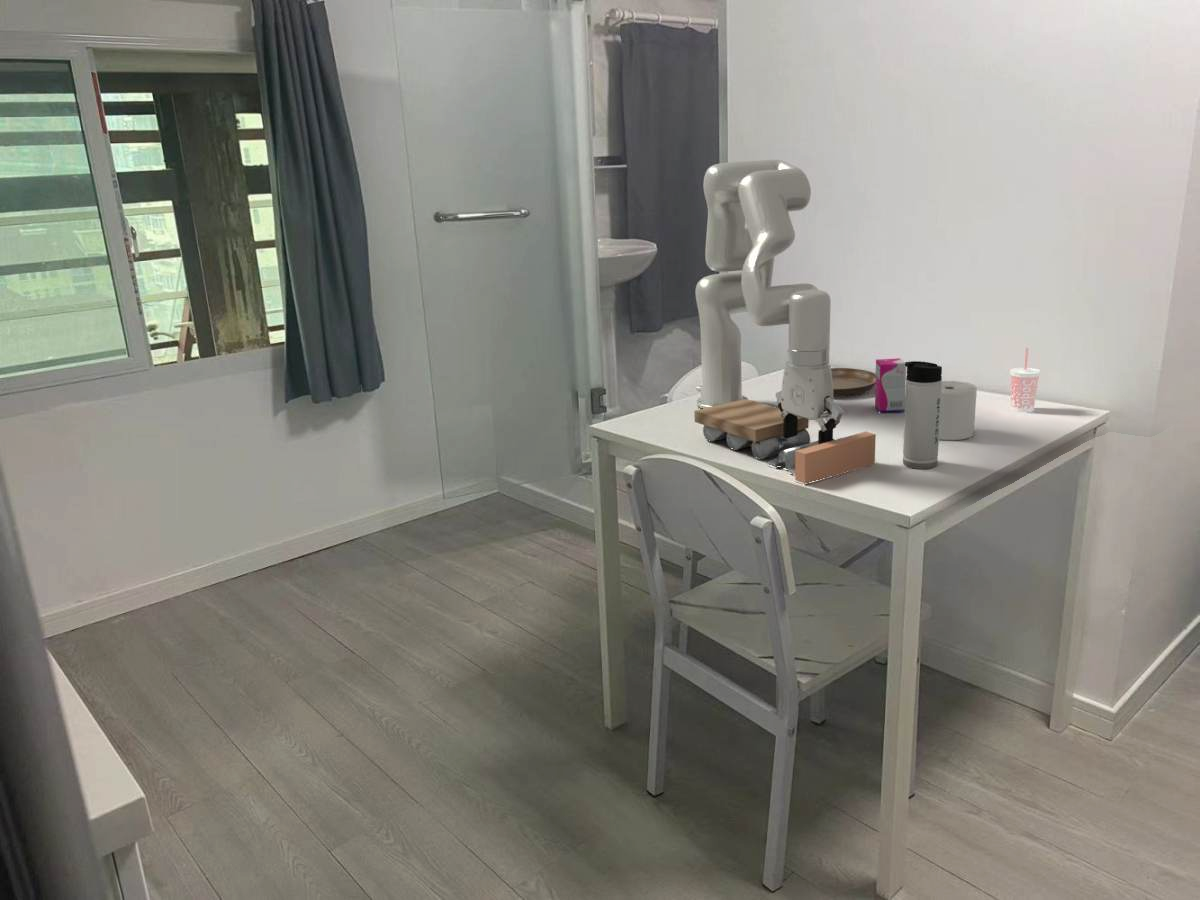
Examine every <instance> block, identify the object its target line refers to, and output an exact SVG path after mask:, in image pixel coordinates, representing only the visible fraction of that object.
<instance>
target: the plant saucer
mask: <svg viewBox="0 0 1200 900" xmlns="http://www.w3.org/2000/svg"><path fill="white" fill-rule="evenodd" d="M831 372H832V380H833V395H834V398H850V396H851V397H856V395H857V396H861V395H864V394H867V393H868V392H869V391H870V390H872V389H873V388H874V387H875V385H876V372H872V371H869V370H866V369H860V368H851V367H848V368H847V367H834V368H833V367H831Z"/></svg>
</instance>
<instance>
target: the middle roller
mask: <svg viewBox="0 0 1200 900" xmlns="http://www.w3.org/2000/svg"><path fill="white" fill-rule="evenodd" d="M726 443H727V447H729V448H730V449H731V448H733V449H735V450H734V451H737V450H740V449H744V448H749V447H752V443H753V441H751V440H748V439H745V438H742V437H739V436H736V435H733V434H730V433H728V434H727V438H726Z"/></svg>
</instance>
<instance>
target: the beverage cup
mask: <svg viewBox="0 0 1200 900" xmlns="http://www.w3.org/2000/svg"><path fill="white" fill-rule="evenodd" d="M1028 354H1029V348H1028V347H1026V348H1025V355H1024V366H1023V367H1014V368H1011V369H1010V370H1009V374H1010V410H1011V409H1012V410H1014V411H1018V412H1017V413H1019V412H1029V413H1031V412H1030V411H1033V410H1035V404H1036V403H1035V402H1036V396H1037V389H1038V386H1039V385H1038V383H1039V377H1040V376H1041V372H1042V371H1041V369H1038V368H1032V367H1028V357H1029V355H1028ZM1012 410H1011V411H1012ZM1014 411H1013V412H1014ZM1033 412H1034V411H1033Z"/></svg>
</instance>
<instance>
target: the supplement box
mask: <svg viewBox="0 0 1200 900" xmlns="http://www.w3.org/2000/svg"><path fill="white" fill-rule="evenodd" d="M875 374H876V384H875V386H874V387H875V389H874V390H875V395H874V396H875V397H874V400H875V401H874V407H875V408H876V410H877V411H878V413H879V412H880V413H879V414H884V413H885V414H888V413H889V414H890V413H905V394H906V377H907V367H906V366H905V361H904V360H903V359H902V358H901V357H899V358H883V359H882V358H880V359H875Z"/></svg>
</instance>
